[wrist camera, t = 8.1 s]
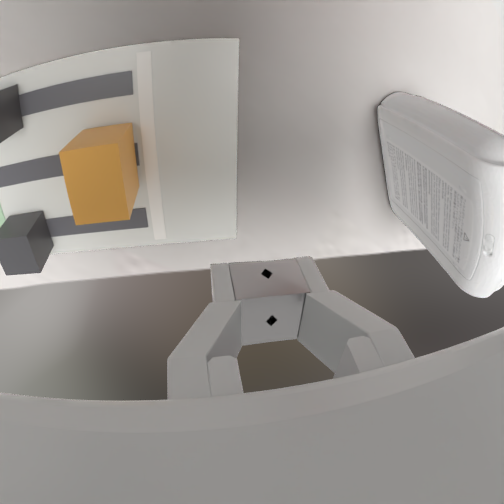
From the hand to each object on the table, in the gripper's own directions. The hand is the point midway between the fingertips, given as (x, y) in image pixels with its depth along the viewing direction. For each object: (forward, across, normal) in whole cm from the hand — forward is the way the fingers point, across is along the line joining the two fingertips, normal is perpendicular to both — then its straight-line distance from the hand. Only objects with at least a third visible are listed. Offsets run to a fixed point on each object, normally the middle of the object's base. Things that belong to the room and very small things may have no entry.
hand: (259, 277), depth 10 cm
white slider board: (+12, +10, -1) cm, 16 cm away
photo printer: (+13, -14, 0) cm, 19 cm away
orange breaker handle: (+11, +7, -1) cm, 13 cm away
